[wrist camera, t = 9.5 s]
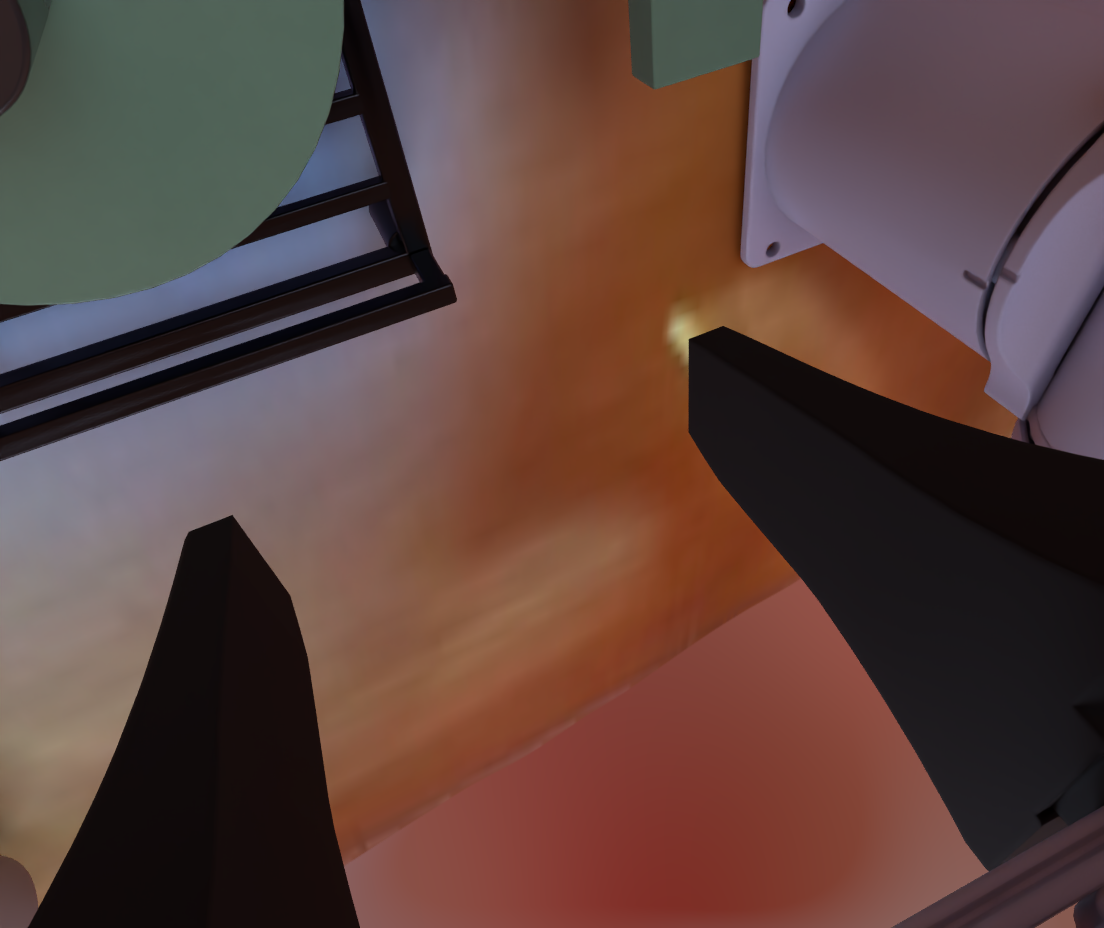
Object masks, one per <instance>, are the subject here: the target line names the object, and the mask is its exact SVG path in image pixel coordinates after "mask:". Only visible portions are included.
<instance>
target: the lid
mask: <svg viewBox="0 0 1104 928" xmlns="http://www.w3.org/2000/svg"><path fill="white" fill-rule="evenodd" d="M343 34H344V0H0V304H11V305H54V304H74V303H82V302H89V301H96V300H103V299H110V298H115V297H119V296H123V295H127V294H131V293H135V292H139V291H143V290H147V289H150V288H154V287H156V286H159V285H161V284H164V283H166V282H169V281H172V280H174V279H177V278H179V277H182V276H184V275H187V274H189V273H191V272H193V271H195V270H196V269H198V268H200V267H202V266H204V265H206V264H207V263H209V262H211V261H213V260H215V259H217V258H218V257H220V256H222V255H223V254H224V253H226V252H227V251H228V250H230V249H231V248H232V247H234V246H235V245H237V244H238V243H239V242H241V241H242V240H243V239H245V238H246V237H247V236H249V235H250V234H251V233H252V232H253V231H254V230H255V229H256V228H257V227H258V226H259V225H260V224H261V223H262V222H263V221H264V220H265V219H266V218H267V217H268V216H269V215H270V214H271V213H272V212H273V211H275V209H276V208H277V207H278V205H279V204H280V203H281V202H282V200H283V199H284V198H285V196H286V195H287V194H288V192H289V191H290V190H291V189H292V187H293V186H294V185H295V183H296V182H297V180H298V179H299V177H300V175H301V173H302V172H303V170H304V168H305V166H306V164H307V163H308V161H309V159H310V157H311V156H312V154H313V152H314V150H315V148H316V146H317V143H318V141H319V138H320V135H321V133H322V130H323V128H324V125H325V123H326V120H327V118H328V115H329V112H330V108H331V104H332V100H333V96H334V92H335V88H336V84H337V79H338V75H339V70H340V61H341V52H342V43H343Z"/></svg>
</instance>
